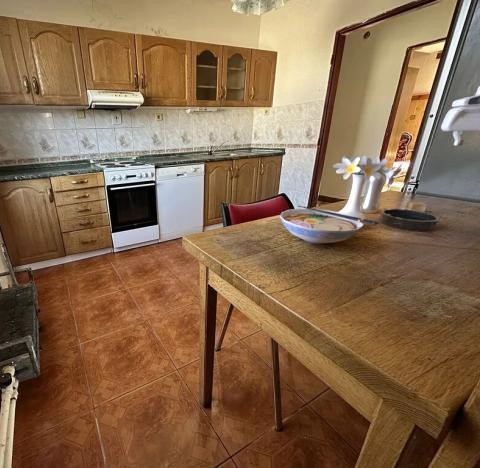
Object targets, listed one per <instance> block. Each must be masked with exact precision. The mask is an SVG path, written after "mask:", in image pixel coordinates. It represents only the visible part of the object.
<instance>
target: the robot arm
mask: <svg viewBox="0 0 480 468" xmlns="http://www.w3.org/2000/svg"><path fill="white" fill-rule="evenodd" d="M451 107H452V108H450V109H449V110H448V111H447V113H446V114H445V116H444V119H443V121H442V123H441V125H440V129H441V131H442V132H452V136H453V139H454V143H453V146H463V144H464V141H465V139H462V138H461V135H463V132H466V131H467V132H468V131H480V85H479V86H478V88H477V89H476V92H475V94H472V95H468V96H466V97H462V98H459V99H456V100H453V101H452V103H451Z"/></svg>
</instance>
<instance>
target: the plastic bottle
mask: <svg viewBox="0 0 480 468" xmlns="http://www.w3.org/2000/svg"><path fill="white" fill-rule="evenodd" d="M383 168H387V165H386V166H385V167H383ZM378 174H379V175H380V179H376V178H374V177H372V176H371V177H370V179H369V180H367V179H366V181H365V185H366V186H365V190H364V195H363V197H362V200H361V201H360V208H361V211H362V212H363V214H376V213H377V212H378V211H379V209H380V199H381V195H382V191H383V189H384V186H385V185H386V178H385V177H384V176H382V175H381V174H380V173H378Z"/></svg>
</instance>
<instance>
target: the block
mask: <svg viewBox="0 0 480 468" xmlns="http://www.w3.org/2000/svg"><path fill="white" fill-rule="evenodd" d="M427 206H428V204H426V203H424V202H423V201H407V202H406V205H405V208H404V209H406V210H414V211H420V212H425V211H426V208H427ZM425 213H426V212H425Z"/></svg>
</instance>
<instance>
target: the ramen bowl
mask: <svg viewBox="0 0 480 468" xmlns="http://www.w3.org/2000/svg"><path fill="white" fill-rule="evenodd" d="M297 207H298V208H293V209H287V210H285V211H282V212H281V213H280V215H279V217H280V220H281V222H282V224H283V225H284V227H285V228H286V230H287V231H289V233H291V234H292V235H293V236H294V237H297V238H299V239H301V240H303V241H305V242H307V243H311V244H316V245H324V244H332V243H339V242H342V241H346V240H347V239H350V237H352V236H353V235H355V234H356V233H357V232H358V231H360V230H361V229H362V228H363V226H364V224H363V223H365V224H366V225H370V226H376V225H379V222H380V221H377V220H371V219H367V218H366V219H362V218H357V217H353V216H350V215H347V214H344V213H340V212H339V211H333V210H328V209H319V208H313V207H308V206H302V205H297Z"/></svg>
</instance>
